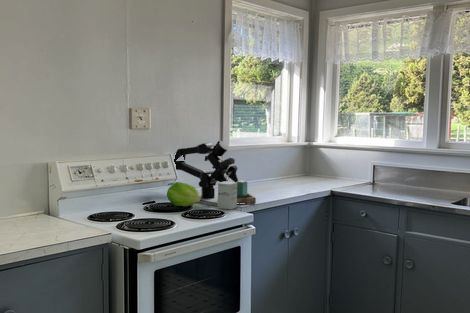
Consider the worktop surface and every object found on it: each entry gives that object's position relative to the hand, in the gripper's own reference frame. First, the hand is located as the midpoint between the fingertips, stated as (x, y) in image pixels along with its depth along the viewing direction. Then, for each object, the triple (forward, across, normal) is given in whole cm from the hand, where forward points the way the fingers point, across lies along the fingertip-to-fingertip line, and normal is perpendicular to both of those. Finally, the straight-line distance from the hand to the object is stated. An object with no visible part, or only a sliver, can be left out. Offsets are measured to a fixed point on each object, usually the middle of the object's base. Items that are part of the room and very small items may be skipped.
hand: (233, 184), depth 247 cm
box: (+9, 0, +3) cm, 10 cm away
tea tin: (+9, 0, +2) cm, 9 cm away
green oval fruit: (-2, -26, +15) cm, 30 cm away
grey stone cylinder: (+11, -16, +2) cm, 19 cm away
